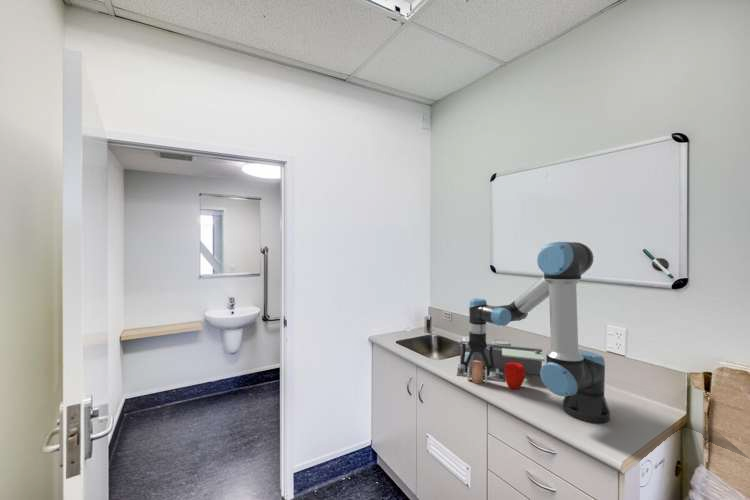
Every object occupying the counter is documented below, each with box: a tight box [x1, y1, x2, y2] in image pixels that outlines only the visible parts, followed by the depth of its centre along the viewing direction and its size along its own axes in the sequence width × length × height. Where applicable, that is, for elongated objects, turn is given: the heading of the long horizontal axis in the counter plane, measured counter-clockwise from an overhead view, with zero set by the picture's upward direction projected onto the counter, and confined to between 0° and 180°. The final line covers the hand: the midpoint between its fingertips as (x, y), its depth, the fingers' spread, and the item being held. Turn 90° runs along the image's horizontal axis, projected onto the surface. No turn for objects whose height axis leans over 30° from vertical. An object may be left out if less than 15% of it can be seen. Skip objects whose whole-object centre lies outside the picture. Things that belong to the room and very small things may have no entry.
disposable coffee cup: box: [491, 339, 512, 346], centre depth 176 cm, size 10×10×12 cm
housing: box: [456, 340, 544, 382], centre depth 160 cm, size 17×39×12 cm, turn 70°
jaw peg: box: [471, 360, 484, 385], centre depth 152 cm, size 5×5×9 cm
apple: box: [503, 362, 526, 390], centre depth 146 cm, size 9×9×11 cm
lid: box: [502, 348, 546, 362], centre depth 156 cm, size 11×18×2 cm, turn 70°
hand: (477, 380), depth 152 cm, fingers open, 7 cm apart
